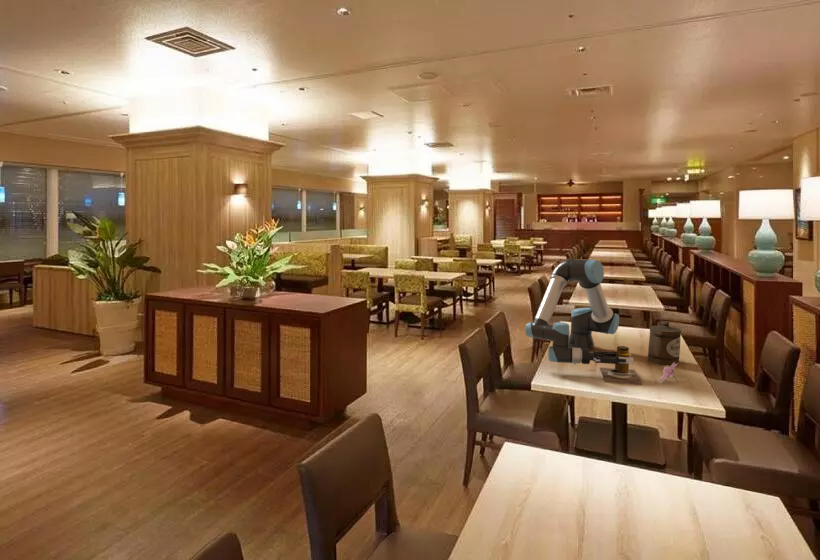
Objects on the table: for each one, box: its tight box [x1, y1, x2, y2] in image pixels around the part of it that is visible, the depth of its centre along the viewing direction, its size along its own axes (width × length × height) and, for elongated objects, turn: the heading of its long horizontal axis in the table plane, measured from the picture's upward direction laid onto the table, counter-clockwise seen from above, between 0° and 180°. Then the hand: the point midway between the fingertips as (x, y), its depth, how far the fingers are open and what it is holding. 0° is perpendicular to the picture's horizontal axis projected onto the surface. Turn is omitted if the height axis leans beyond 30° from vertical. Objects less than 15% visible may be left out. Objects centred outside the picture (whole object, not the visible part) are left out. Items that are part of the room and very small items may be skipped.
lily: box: [659, 362, 679, 384], centre depth 241 cm, size 12×12×10 cm
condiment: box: [609, 345, 631, 375], centre depth 248 cm, size 7×8×12 cm
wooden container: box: [647, 320, 682, 367], centre depth 273 cm, size 15×15×22 cm
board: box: [599, 366, 643, 386], centre depth 249 cm, size 20×16×1 cm
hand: (632, 358), depth 247 cm, fingers closed on condiment, 6 cm apart
